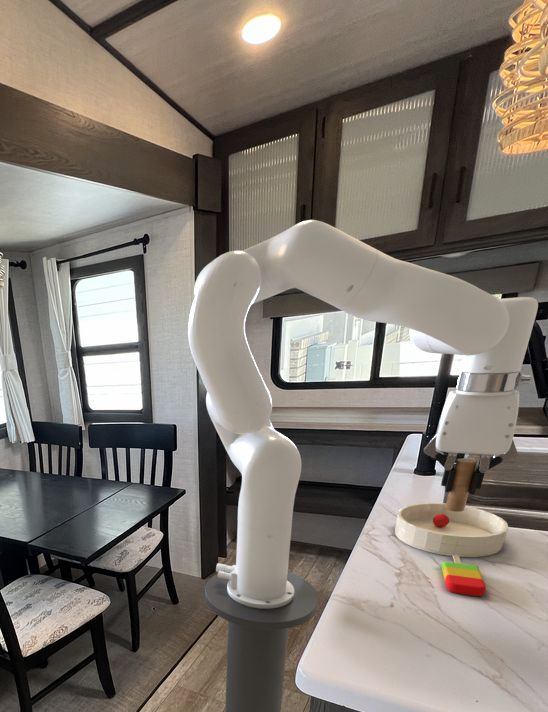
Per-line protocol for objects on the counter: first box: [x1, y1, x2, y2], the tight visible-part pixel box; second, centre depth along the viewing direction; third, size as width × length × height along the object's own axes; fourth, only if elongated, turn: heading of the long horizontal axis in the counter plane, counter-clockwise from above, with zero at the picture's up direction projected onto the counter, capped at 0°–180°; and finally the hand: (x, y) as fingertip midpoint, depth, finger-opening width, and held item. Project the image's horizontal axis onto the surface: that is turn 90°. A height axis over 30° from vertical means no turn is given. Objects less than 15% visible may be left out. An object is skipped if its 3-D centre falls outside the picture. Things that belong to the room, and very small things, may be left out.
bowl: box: [394, 502, 509, 558], centre depth 102 cm, size 19×19×4 cm
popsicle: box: [441, 554, 487, 597], centre depth 88 cm, size 6×15×2 cm, turn 152°
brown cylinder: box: [445, 457, 478, 512], centre depth 82 cm, size 3×3×9 cm
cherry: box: [433, 514, 449, 527], centre depth 106 cm, size 3×3×3 cm
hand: (459, 490), depth 83 cm, fingers closed on brown cylinder, 2 cm apart
